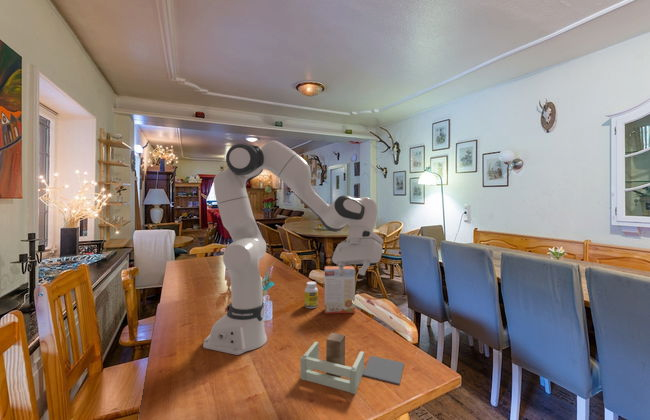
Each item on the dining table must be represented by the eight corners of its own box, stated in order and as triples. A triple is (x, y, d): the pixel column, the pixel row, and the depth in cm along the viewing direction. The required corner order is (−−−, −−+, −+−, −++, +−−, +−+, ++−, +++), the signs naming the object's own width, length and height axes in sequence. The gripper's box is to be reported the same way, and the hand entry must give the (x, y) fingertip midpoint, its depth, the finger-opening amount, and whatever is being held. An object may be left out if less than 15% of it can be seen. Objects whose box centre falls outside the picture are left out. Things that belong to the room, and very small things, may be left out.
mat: (362, 375, 87) (362, 374, 87) (370, 356, 97) (370, 355, 97) (399, 384, 83) (399, 383, 83) (404, 364, 93) (404, 362, 93)
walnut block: (326, 374, 88) (326, 339, 87) (331, 366, 92) (331, 332, 91) (340, 377, 86) (340, 342, 85) (344, 369, 90) (345, 335, 90)
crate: (300, 379, 85) (300, 357, 85) (314, 360, 95) (314, 341, 94) (355, 394, 79) (355, 371, 79) (364, 372, 89) (364, 352, 88)
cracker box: (353, 308, 138) (353, 265, 137) (355, 313, 132) (355, 268, 131) (324, 308, 138) (324, 265, 136) (324, 313, 131) (324, 268, 130)
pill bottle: (306, 309, 136) (306, 285, 136) (303, 304, 143) (303, 281, 142) (319, 308, 138) (319, 284, 137) (316, 303, 144) (316, 280, 144)
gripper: (333, 238, 110) (324, 272, 104) (376, 231, 95) (367, 270, 89) (344, 245, 113) (336, 278, 107) (387, 239, 98) (380, 278, 92)
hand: (350, 275), depth 98 cm, fingers open, 8 cm apart
